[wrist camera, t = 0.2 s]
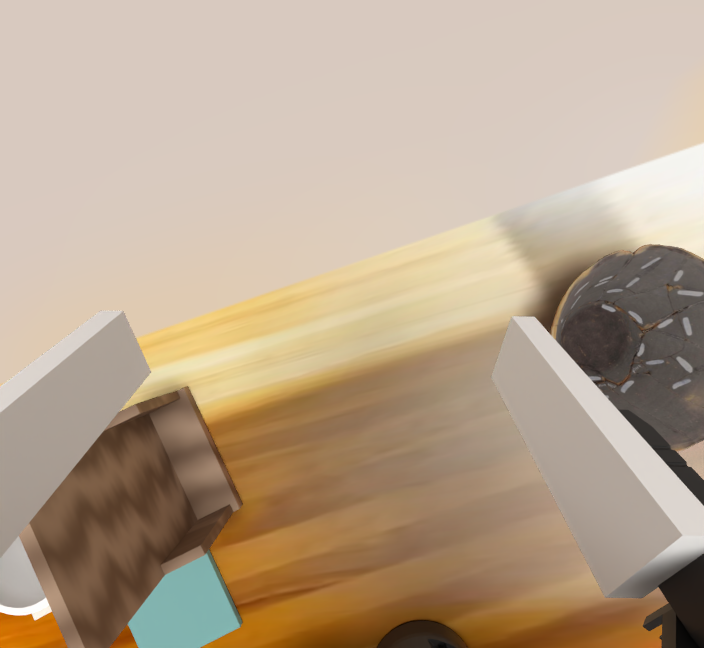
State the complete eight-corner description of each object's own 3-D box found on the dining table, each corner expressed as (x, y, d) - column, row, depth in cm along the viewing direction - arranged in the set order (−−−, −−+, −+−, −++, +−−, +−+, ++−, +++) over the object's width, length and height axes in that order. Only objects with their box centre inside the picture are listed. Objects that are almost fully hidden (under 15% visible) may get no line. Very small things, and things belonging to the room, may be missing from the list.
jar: (92, 451, 46) (-32, 506, 31) (163, 451, 46) (74, 506, 31) (90, 525, 46) (-37, 618, 31) (161, 525, 46) (70, 617, 31)
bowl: (563, 460, 47) (621, 494, 37) (478, 316, 47) (512, 311, 37) (705, 375, 47) (800, 385, 37) (619, 234, 48) (690, 207, 38)
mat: (242, 621, 45) (240, 626, 44) (153, 666, 45) (149, 672, 44) (201, 532, 46) (198, 536, 45) (112, 576, 45) (108, 580, 45)
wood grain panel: (242, 504, 46) (160, 633, 26) (197, 526, 46) (79, 674, 26) (187, 386, 46) (65, 424, 26) (143, 408, 46) (-14, 462, 26)
